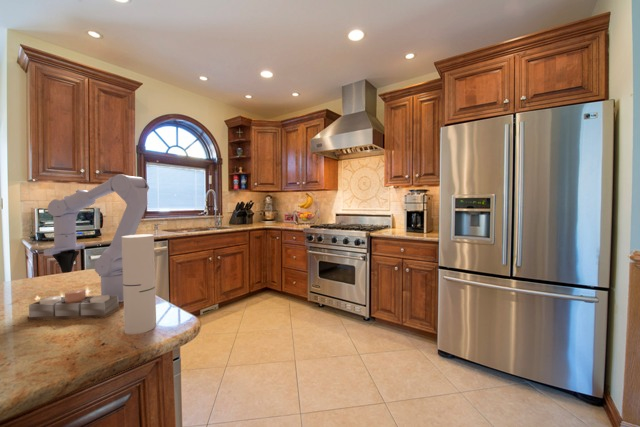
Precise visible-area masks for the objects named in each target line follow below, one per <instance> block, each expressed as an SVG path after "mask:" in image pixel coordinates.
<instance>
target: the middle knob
mask: <svg viewBox="0 0 640 427" xmlns="http://www.w3.org/2000/svg"><path fill="white" fill-rule="evenodd" d="M86 294H87V293H86V289H74V290H70V291H66V292H65V293H64V297H65V303H79V302H81V301H84V300H86V296H87V295H86Z"/></svg>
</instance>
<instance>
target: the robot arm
mask: <svg viewBox="0 0 640 427" xmlns="http://www.w3.org/2000/svg"><path fill="white" fill-rule="evenodd" d="M149 189H150V186H149V184H148V183H147V181H146V179H145V178H143V177H141V176H132V175H126V174H121V173H120V174H119V173H118V174H115V175H114V176H111V177H109V178H108V180H106V181H104V182H102V183H101V184H98V185H97V186H95V187H93V188H91V189H90V190H85V189H77V190H75V193H72V194H70V195H66V196H64V198H62V199H57V198H55V199H53V200H51V201H49V203H48V205H47V211H48V213H49V215H51V216H52V217H53V218H52V219H53V240H54V242H53V243H54V246H51V247H50V248H46V249H43V256H44V257H45V256H52V257H53V258H54V259H55V261H56V262H57V264H58V265H59V267H60V270H61V272H62V273H70V272H72V270H73V267H74V264H75V261H76V259H77V257H78V256H79V254H80V250H83V249H85V248H86V243H84V242H83V243H82V242H81V243H77V219H78V214H79V213H80V212H81V211H82V210H83V209H86V208H88V207H90V206H93V205H94V204H95V203H96V200H98V199H100V198H102V197H105V196H107V195H109V194H113V193H116V194H117V195H118V196H119V197H120V198H121V199H122V201H124V202H125V204H126V206H125V209H124V211H123V214H122V216H121V219H120V221H119V224H118V226H117V228H116V230H115V233H114V236H113V237H112V241H111V243H110V245H109V246H108V247H107V248H106V249H104V251H102V252H101V254H100V256H99V257H98V258H97V259H95V262H94V264H93V268H94V271H95V273H96V274H97V275H98V276H99V277H100V294H101V295H109V296H118V303H122V302H123V303H124V297H123V265H122V236H128V235H136V233H137V230H138V228H139V225H140V223H141V221H142V218H143V216H144V214H145V211H146V209H147V207H148V192H149Z"/></svg>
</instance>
